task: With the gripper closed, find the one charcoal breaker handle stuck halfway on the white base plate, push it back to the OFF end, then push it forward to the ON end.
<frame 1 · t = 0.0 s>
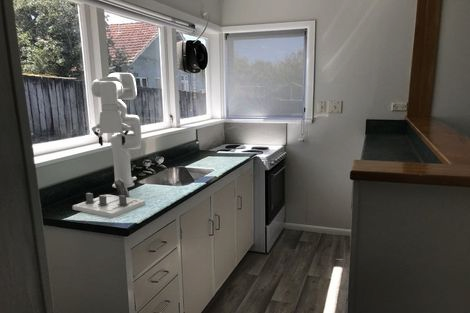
hand: (112, 145, 173), 31 cm above the worktop, tool pointing down, fingers open, 9 cm apart
white base plate: (109, 206, 181), on the worktop
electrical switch: (122, 196, 201), on the worktop
breaker 1: (89, 197, 181), point 5 cm above the worktop, slide at 8.0 cm
tripped breaker: (122, 200, 176), point 5 cm above the worktop, slide at 4.0 cm
breaker 2: (102, 200, 177), point 5 cm above the worktop, slide at 8.0 cm
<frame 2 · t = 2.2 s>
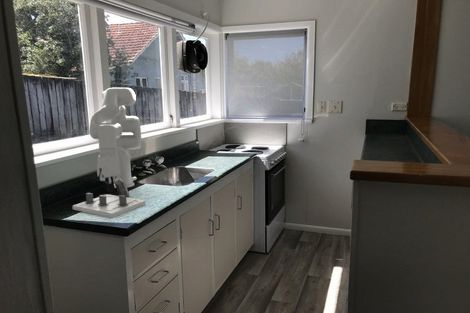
hand: (110, 191, 169), 11 cm above the worktop, tool pointing down, fingers closed
nothing on the worktop moved.
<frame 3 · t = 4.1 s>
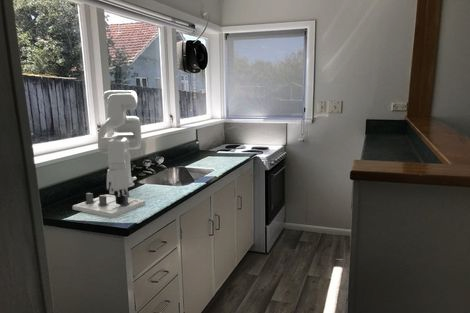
hand: (119, 203, 175), 3 cm above the worktop, tool pointing down, fingers closed
tripped breaker: (124, 199, 177), point 5 cm above the worktop, slide at 3.0 cm, touching gripper
everything else where it was.
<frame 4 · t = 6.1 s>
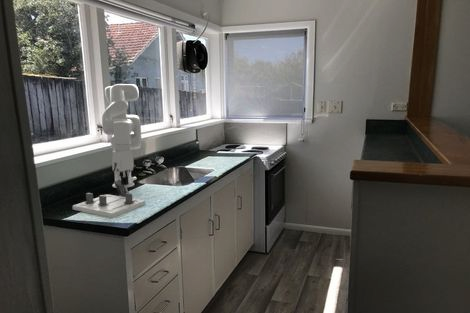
hand: (124, 184, 178), 12 cm above the worktop, tool pointing down, fingers closed
tripped breaker: (128, 198, 180), point 5 cm above the worktop, slide at -0.1 cm
everything else where it was.
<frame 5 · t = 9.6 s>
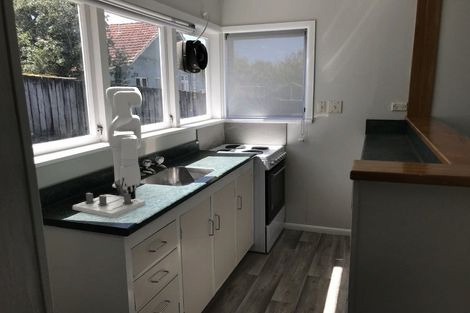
hand: (132, 198, 182), 4 cm above the worktop, tool pointing down, fingers closed
tripped breaker: (127, 198, 179), point 5 cm above the worktop, slide at 0.9 cm, touching gripper
everything else where it was.
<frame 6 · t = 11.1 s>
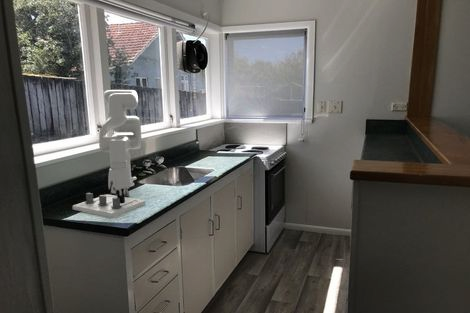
hand: (121, 202, 175), 4 cm above the worktop, tool pointing down, fingers closed
tripped breaker: (116, 202, 173), point 5 cm above the worktop, slide at 8.2 cm, touching gripper
everything else where it was.
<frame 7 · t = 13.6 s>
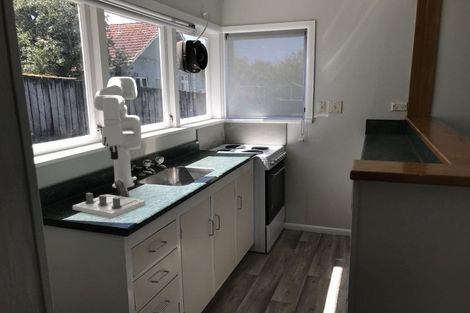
hand: (114, 159, 182), 23 cm above the worktop, tool pointing down, fingers closed
tripped breaker: (116, 202, 173), point 5 cm above the worktop, slide at 8.1 cm
everything else where it was.
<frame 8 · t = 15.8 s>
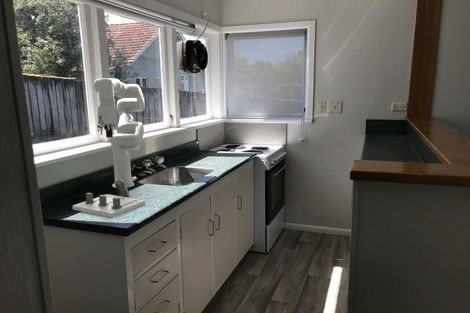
hand: (109, 137, 196), 32 cm above the worktop, tool pointing down, fingers closed
nothing on the worktop moved.
at the end: tripped breaker slide at 8.1 cm; breaker 2 slide at 8.0 cm; breaker 1 slide at 8.0 cm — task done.
